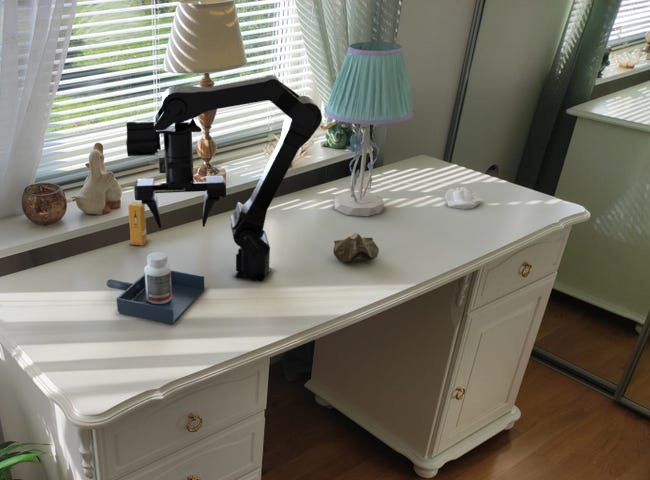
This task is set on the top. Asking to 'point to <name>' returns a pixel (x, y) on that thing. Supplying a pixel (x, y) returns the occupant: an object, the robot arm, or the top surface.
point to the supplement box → (137, 223)
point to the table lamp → (368, 110)
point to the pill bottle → (158, 279)
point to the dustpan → (137, 305)
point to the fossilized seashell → (355, 248)
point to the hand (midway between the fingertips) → (181, 226)
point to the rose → (462, 198)
